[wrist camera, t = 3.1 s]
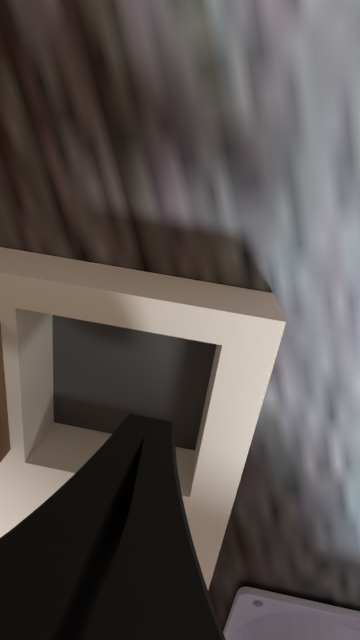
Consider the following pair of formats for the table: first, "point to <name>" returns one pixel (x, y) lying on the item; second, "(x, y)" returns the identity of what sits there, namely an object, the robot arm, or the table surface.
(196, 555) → the robot arm
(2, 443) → the walnut block
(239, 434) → the trap board
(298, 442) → the table surface
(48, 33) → the table surface
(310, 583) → the table surface
